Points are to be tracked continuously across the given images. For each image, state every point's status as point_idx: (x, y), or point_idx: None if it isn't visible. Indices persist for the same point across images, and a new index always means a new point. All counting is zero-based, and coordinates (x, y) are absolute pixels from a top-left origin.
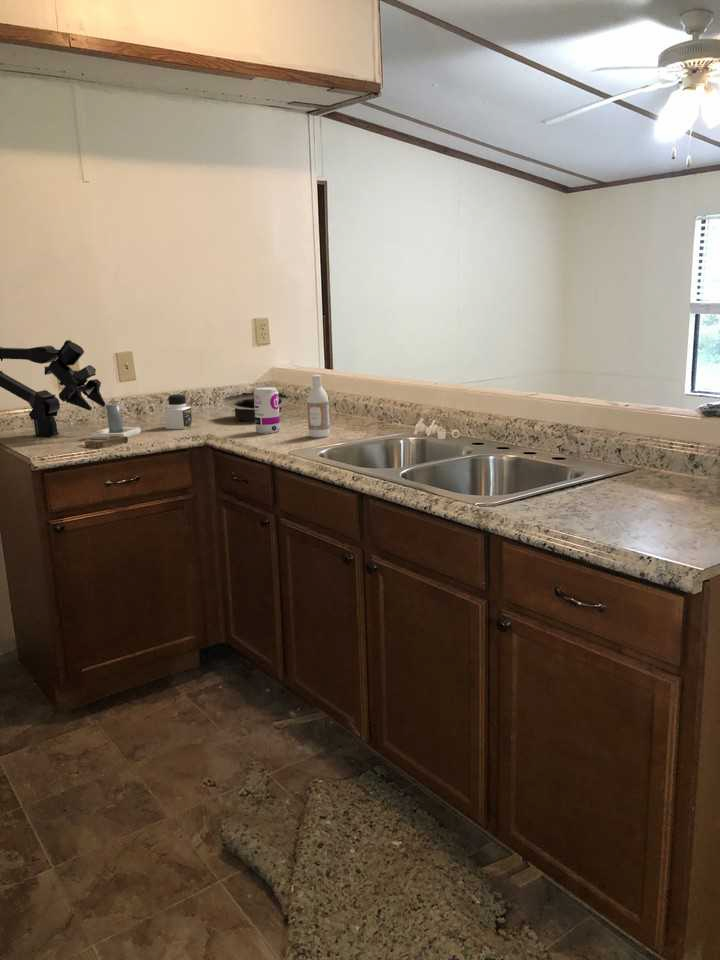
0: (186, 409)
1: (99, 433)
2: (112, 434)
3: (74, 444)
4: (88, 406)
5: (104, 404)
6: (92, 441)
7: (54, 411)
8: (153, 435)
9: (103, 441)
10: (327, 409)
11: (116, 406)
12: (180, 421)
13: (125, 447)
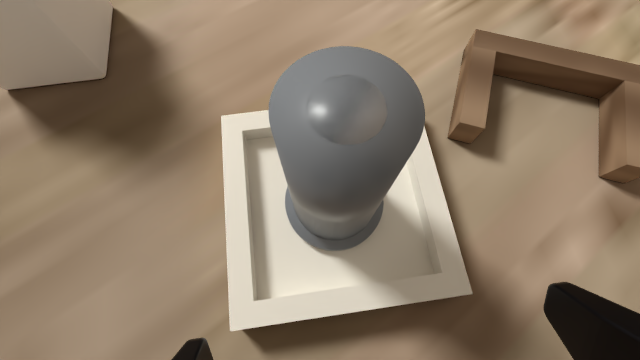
0: None
1: (453, 231)
2: (428, 152)
3: (620, 284)
4: (612, 307)
5: (205, 346)
6: None
7: None
8: (276, 47)
9: (618, 61)
10: None
11: (374, 60)
12: None
13: (546, 8)
